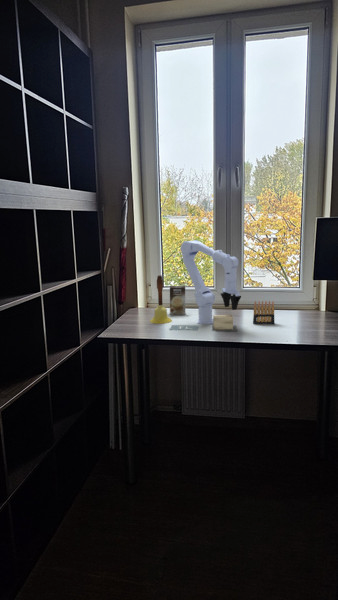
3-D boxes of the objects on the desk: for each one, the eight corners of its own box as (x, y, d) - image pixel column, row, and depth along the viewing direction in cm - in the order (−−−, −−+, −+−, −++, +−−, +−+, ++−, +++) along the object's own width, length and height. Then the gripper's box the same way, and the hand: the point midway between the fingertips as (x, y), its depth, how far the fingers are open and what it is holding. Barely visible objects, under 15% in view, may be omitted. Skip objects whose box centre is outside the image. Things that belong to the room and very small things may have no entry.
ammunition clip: (273, 323, 213) (274, 300, 211) (274, 324, 211) (275, 301, 209) (252, 323, 214) (253, 300, 212) (253, 324, 212) (253, 301, 210)
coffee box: (169, 315, 237) (169, 287, 234) (169, 312, 244) (169, 285, 241) (185, 314, 237) (185, 287, 234) (185, 312, 243) (185, 285, 240)
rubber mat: (212, 325, 211) (212, 325, 211) (236, 326, 209) (236, 325, 209) (212, 331, 201) (212, 330, 201) (237, 331, 200) (237, 330, 199)
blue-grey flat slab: (171, 325, 214) (171, 325, 214) (198, 325, 212) (198, 325, 212) (169, 330, 204) (169, 330, 204) (197, 330, 202) (197, 330, 202)
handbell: (164, 325, 214) (162, 277, 210) (145, 322, 221) (143, 276, 216) (176, 320, 225) (175, 274, 220) (158, 317, 231) (156, 273, 227)
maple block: (213, 326, 208) (213, 315, 206) (231, 326, 208) (231, 314, 207) (214, 329, 203) (214, 317, 201) (232, 329, 203) (232, 317, 202)
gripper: (216, 280, 210) (216, 306, 213) (230, 283, 197) (230, 311, 199) (228, 279, 213) (228, 304, 215) (243, 282, 199) (243, 310, 202)
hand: (230, 308), depth 207 cm, fingers open, 7 cm apart
